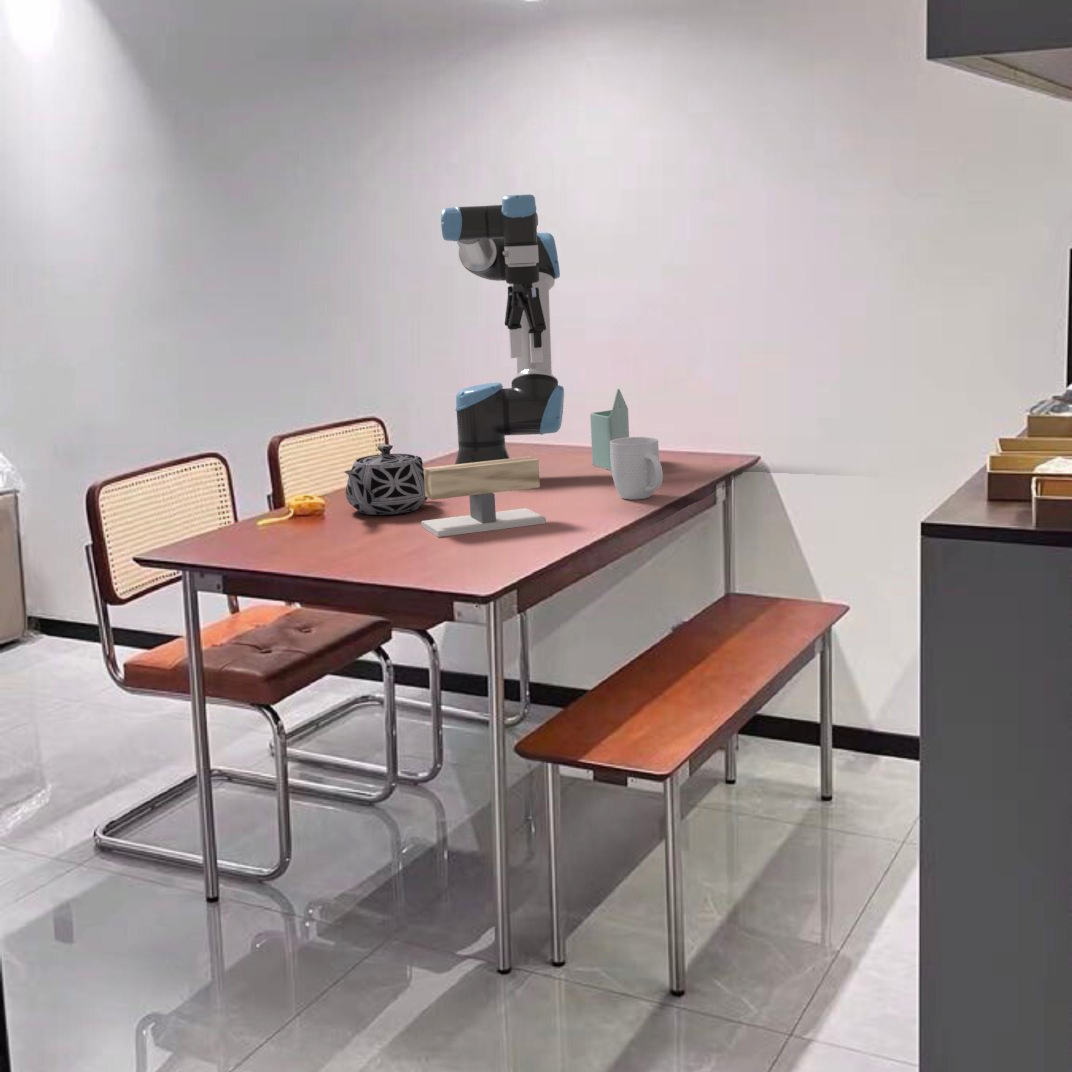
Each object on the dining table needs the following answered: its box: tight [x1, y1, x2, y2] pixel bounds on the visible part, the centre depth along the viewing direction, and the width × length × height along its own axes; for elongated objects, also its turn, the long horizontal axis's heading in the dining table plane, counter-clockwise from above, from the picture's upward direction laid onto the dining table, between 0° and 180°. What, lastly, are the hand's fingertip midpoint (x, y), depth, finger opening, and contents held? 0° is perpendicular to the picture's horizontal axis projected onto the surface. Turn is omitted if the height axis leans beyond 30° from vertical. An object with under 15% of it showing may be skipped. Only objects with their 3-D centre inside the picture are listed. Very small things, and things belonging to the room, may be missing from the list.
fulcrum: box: [421, 493, 547, 538], centre depth 314 cm, size 12×24×7 cm, turn 111°
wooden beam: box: [423, 456, 541, 501], centre depth 312 cm, size 5×24×6 cm, turn 111°
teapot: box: [343, 444, 429, 516], centre depth 333 cm, size 19×31×15 cm, turn 153°
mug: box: [610, 436, 664, 501], centre depth 333 cm, size 15×11×13 cm
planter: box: [589, 388, 630, 472], centre depth 377 cm, size 16×8×20 cm, turn 162°
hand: (526, 360), depth 335 cm, fingers open, 13 cm apart
